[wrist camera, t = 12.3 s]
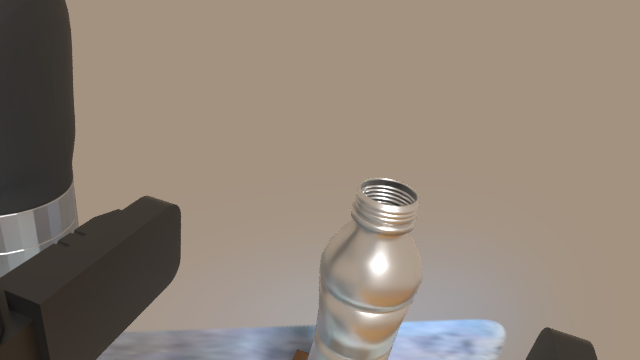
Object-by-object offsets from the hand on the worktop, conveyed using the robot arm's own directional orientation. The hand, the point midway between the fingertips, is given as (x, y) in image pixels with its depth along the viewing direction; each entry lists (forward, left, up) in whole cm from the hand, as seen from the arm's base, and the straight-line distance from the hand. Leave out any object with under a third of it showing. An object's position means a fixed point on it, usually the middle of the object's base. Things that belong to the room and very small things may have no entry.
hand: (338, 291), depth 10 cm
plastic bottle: (0, +15, -25) cm, 29 cm away
